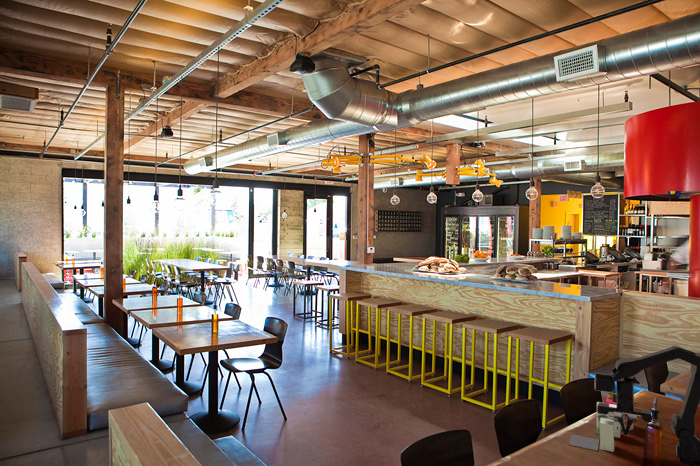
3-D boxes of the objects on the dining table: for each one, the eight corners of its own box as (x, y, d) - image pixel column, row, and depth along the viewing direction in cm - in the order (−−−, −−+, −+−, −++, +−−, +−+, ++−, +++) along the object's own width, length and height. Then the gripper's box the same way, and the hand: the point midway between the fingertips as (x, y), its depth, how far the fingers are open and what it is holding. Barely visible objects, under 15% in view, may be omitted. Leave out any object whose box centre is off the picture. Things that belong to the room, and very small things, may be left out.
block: (614, 445, 178) (613, 420, 179) (613, 451, 173) (613, 425, 173) (600, 443, 181) (600, 417, 181) (600, 449, 176) (599, 422, 176)
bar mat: (599, 440, 183) (599, 439, 183) (597, 451, 174) (597, 450, 174) (571, 435, 188) (571, 434, 188) (568, 445, 179) (568, 444, 179)
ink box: (596, 433, 190) (596, 405, 190) (596, 429, 194) (596, 401, 194) (620, 438, 185) (620, 408, 186) (620, 433, 190) (620, 405, 190)
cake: (609, 419, 205) (608, 385, 206) (636, 425, 198) (635, 390, 199) (603, 426, 197) (603, 391, 198) (632, 432, 190) (631, 396, 191)
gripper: (653, 391, 176) (653, 432, 176) (598, 384, 186) (598, 422, 186) (654, 400, 167) (655, 443, 166) (596, 391, 176) (597, 432, 176)
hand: (625, 434), depth 174 cm, fingers closed
